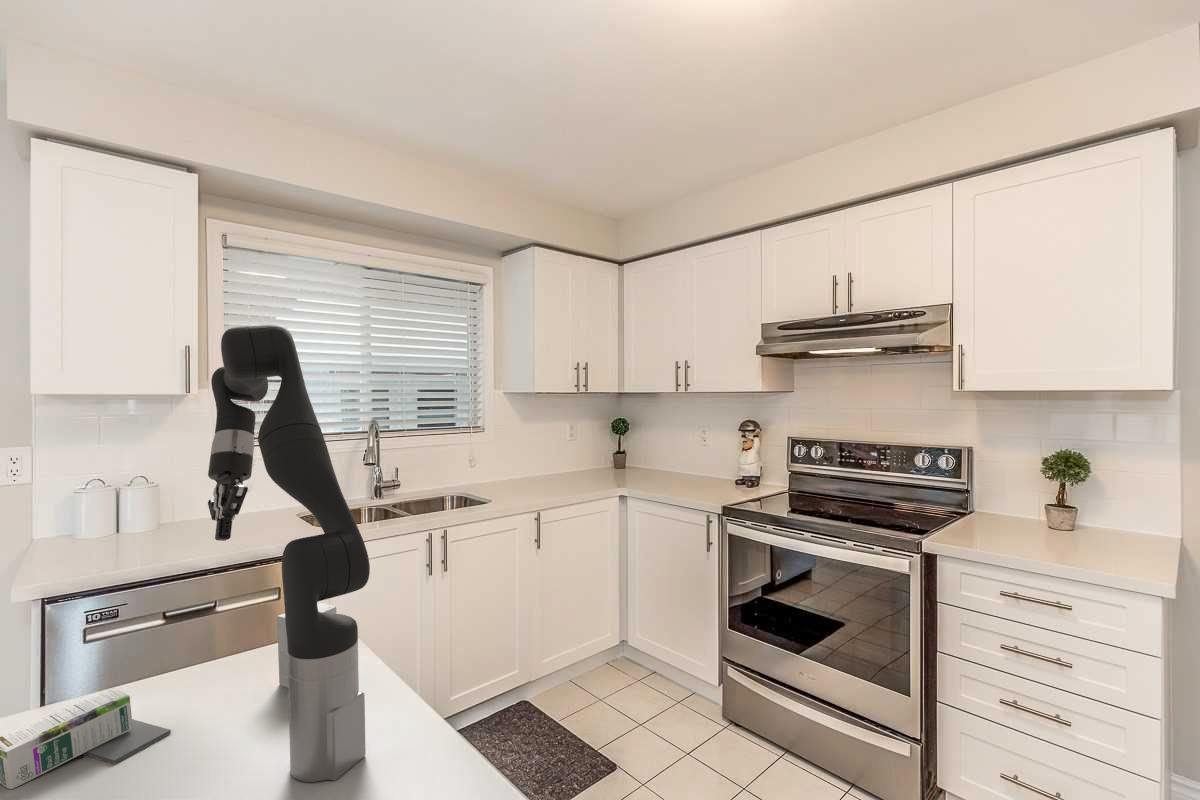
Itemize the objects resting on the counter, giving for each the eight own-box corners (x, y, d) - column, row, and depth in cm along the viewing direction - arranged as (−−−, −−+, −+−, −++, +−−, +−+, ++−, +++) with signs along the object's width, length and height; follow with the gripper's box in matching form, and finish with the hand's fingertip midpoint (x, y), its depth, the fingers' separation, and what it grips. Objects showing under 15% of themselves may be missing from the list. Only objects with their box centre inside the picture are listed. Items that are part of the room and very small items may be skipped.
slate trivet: (170, 733, 93) (170, 729, 93) (114, 764, 85) (114, 760, 85) (116, 718, 97) (116, 714, 97) (58, 746, 89) (58, 742, 89)
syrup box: (134, 729, 92) (10, 792, 79) (116, 719, 95) (-7, 778, 82) (131, 695, 92) (5, 753, 79) (112, 685, 94) (-13, 740, 82)
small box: (317, 666, 115) (315, 600, 114) (338, 673, 112) (337, 606, 111) (277, 685, 107) (276, 615, 107) (300, 693, 104) (298, 621, 104)
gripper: (198, 462, 121) (186, 546, 115) (226, 442, 115) (215, 530, 108) (237, 467, 127) (228, 547, 120) (266, 449, 120) (258, 533, 113)
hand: (222, 539), depth 114 cm, fingers closed
